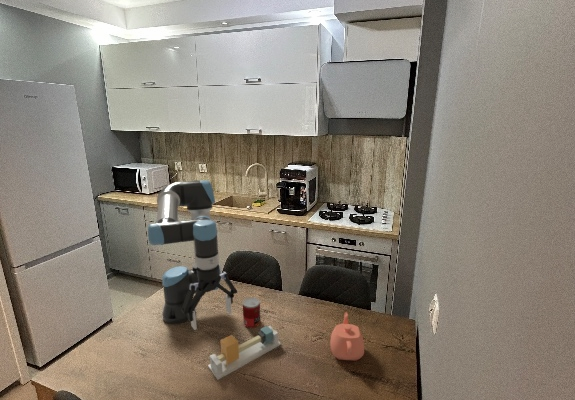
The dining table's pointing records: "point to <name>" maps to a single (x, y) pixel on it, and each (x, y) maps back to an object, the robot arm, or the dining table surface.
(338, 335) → the teapot
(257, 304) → the canned food
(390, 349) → the dining table surface
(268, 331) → the linear slide rail
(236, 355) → the orange slider block
